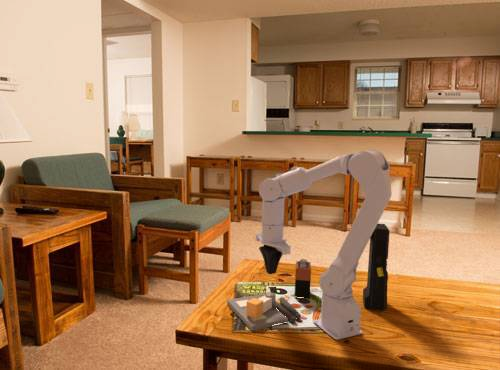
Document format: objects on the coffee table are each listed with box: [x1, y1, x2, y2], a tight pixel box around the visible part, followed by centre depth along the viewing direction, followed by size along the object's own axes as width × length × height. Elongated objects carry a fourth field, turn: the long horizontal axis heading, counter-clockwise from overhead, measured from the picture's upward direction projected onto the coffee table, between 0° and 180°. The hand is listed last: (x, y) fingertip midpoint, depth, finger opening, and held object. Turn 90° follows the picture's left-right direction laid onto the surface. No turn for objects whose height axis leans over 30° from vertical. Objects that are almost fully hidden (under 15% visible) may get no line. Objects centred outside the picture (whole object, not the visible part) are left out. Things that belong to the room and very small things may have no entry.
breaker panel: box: [226, 294, 289, 332], centre depth 104 cm, size 16×11×2 cm
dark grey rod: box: [275, 300, 297, 323], centre depth 105 cm, size 16×2×2 cm, turn 25°
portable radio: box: [362, 223, 391, 311], centre depth 108 cm, size 8×6×25 cm
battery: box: [294, 258, 312, 299], centre depth 116 cm, size 4×7×10 cm, turn 173°
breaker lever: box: [246, 291, 277, 319], centre depth 102 cm, size 3×10×4 cm, turn 144°
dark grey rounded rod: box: [279, 297, 302, 320], centre depth 105 cm, size 12×2×2 cm, turn 19°
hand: (271, 273), depth 105 cm, fingers closed
